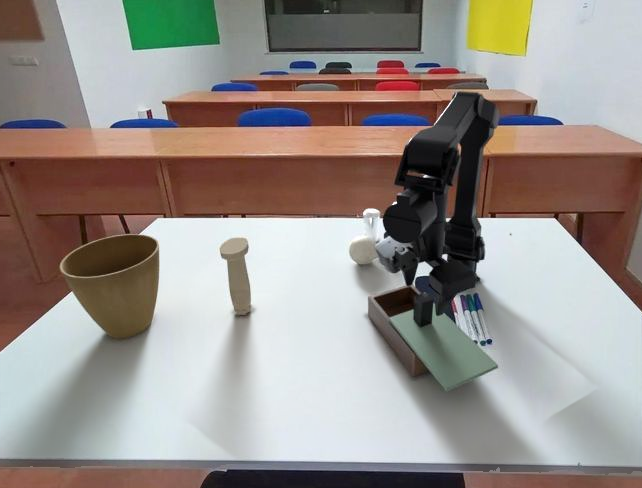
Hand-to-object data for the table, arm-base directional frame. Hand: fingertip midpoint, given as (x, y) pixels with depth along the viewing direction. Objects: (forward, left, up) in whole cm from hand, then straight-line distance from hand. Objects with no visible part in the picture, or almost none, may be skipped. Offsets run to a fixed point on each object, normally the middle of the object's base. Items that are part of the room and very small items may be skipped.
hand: (423, 299), depth 67 cm
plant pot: (+47, -29, -10) cm, 56 cm away
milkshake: (-10, -39, -10) cm, 42 cm away
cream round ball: (-3, -30, -10) cm, 32 cm away
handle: (+27, -24, -10) cm, 37 cm away
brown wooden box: (0, -3, -10) cm, 10 cm away
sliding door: (0, +5, -5) cm, 7 cm away
